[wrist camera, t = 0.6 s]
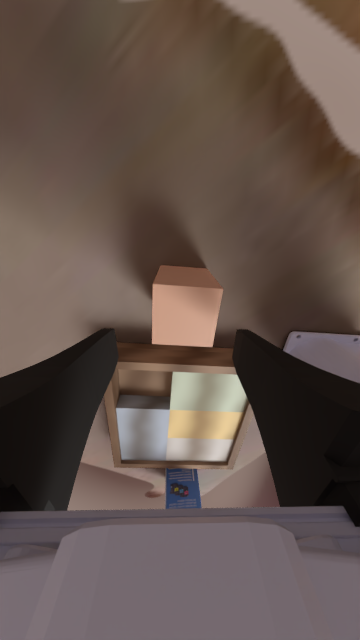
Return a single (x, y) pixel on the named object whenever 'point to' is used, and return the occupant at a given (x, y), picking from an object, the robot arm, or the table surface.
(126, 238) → the table surface
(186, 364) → the puzzle tray
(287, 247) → the table surface
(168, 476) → the ink cartridge box
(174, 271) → the terracotta block
